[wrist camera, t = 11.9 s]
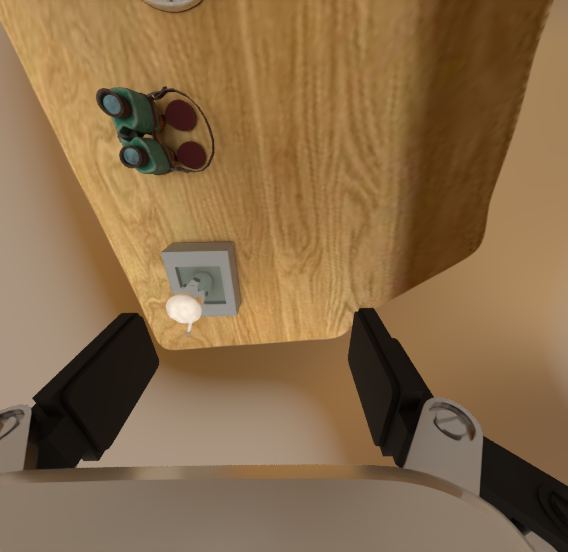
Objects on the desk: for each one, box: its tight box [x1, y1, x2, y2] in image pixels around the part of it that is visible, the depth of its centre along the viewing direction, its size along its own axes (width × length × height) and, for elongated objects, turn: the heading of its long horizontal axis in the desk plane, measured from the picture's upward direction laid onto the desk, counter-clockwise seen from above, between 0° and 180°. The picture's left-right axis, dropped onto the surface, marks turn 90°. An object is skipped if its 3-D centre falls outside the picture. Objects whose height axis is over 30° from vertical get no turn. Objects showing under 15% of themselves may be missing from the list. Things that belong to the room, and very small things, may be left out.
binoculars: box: [96, 86, 214, 175], centre depth 27 cm, size 9×11×10 cm
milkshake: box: [166, 272, 213, 337], centre depth 33 cm, size 4×5×10 cm
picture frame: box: [161, 242, 241, 317], centre depth 39 cm, size 12×10×4 cm
